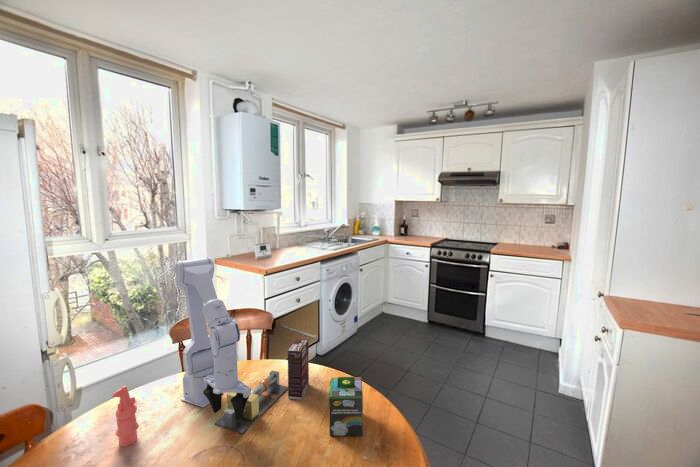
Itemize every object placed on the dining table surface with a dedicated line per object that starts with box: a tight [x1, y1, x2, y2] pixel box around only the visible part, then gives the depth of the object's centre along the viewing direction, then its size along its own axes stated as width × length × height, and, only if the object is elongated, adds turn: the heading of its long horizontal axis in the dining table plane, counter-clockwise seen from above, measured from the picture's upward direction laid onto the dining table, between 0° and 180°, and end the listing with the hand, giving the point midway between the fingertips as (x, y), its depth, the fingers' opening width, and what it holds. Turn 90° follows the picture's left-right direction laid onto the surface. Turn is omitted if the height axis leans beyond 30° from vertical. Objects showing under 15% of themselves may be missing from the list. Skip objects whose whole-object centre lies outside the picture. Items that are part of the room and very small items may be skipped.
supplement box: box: [287, 338, 310, 401], centre depth 102 cm, size 9×5×16 cm, turn 173°
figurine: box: [111, 385, 140, 448], centre depth 81 cm, size 5×5×15 cm
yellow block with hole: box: [226, 393, 259, 420], centre depth 91 cm, size 3×9×6 cm, turn 68°
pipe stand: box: [214, 370, 288, 435], centre depth 96 cm, size 22×10×5 cm, turn 158°
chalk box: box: [328, 376, 364, 437], centre depth 87 cm, size 9×9×15 cm
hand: (228, 414), depth 86 cm, fingers open, 7 cm apart
